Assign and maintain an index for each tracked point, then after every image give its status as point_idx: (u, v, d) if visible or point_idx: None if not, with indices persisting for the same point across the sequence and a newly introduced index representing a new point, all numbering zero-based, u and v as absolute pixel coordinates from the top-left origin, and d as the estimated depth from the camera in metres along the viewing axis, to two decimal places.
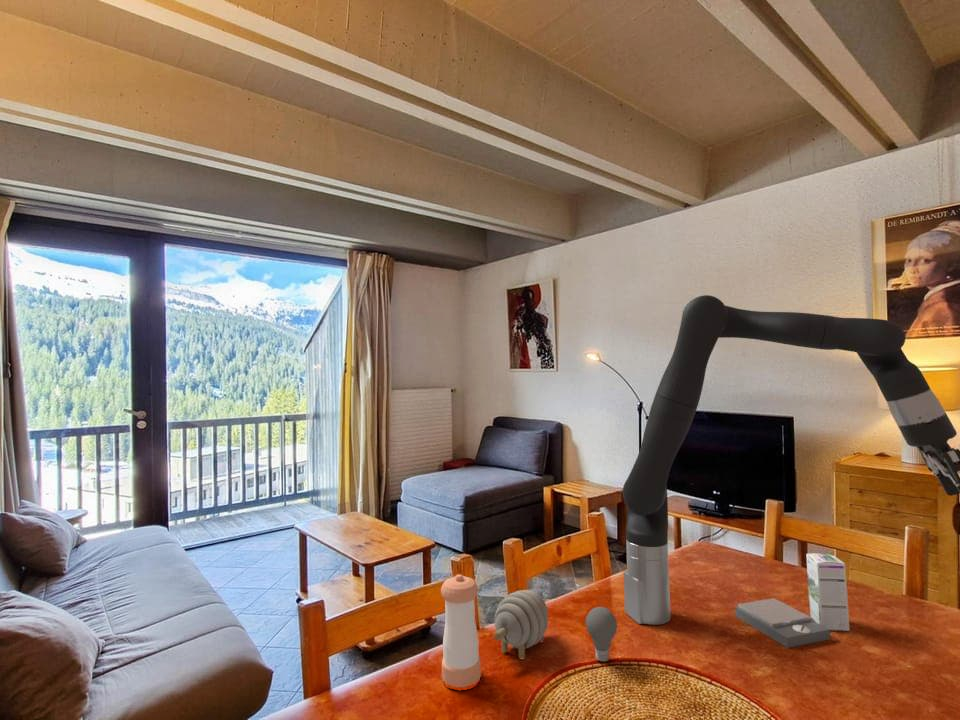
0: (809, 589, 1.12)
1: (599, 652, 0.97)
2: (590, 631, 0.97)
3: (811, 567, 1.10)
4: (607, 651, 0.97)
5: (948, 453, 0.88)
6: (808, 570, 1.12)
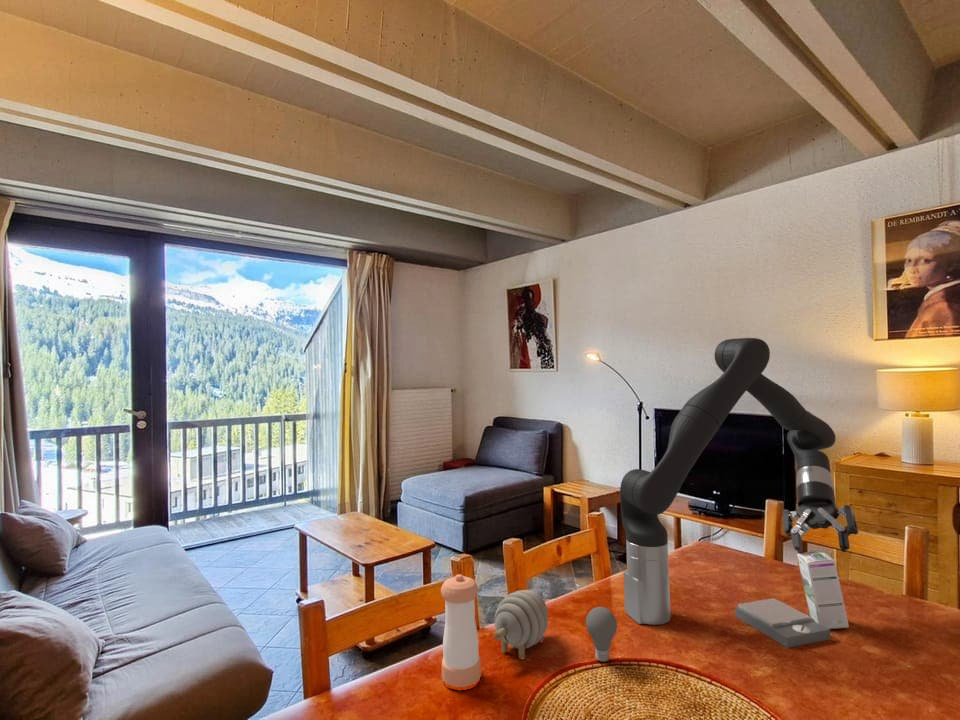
0: (805, 589, 1.12)
1: (599, 652, 0.97)
2: (590, 631, 0.97)
3: (803, 567, 1.11)
4: (607, 651, 0.97)
5: None
6: (801, 570, 1.12)
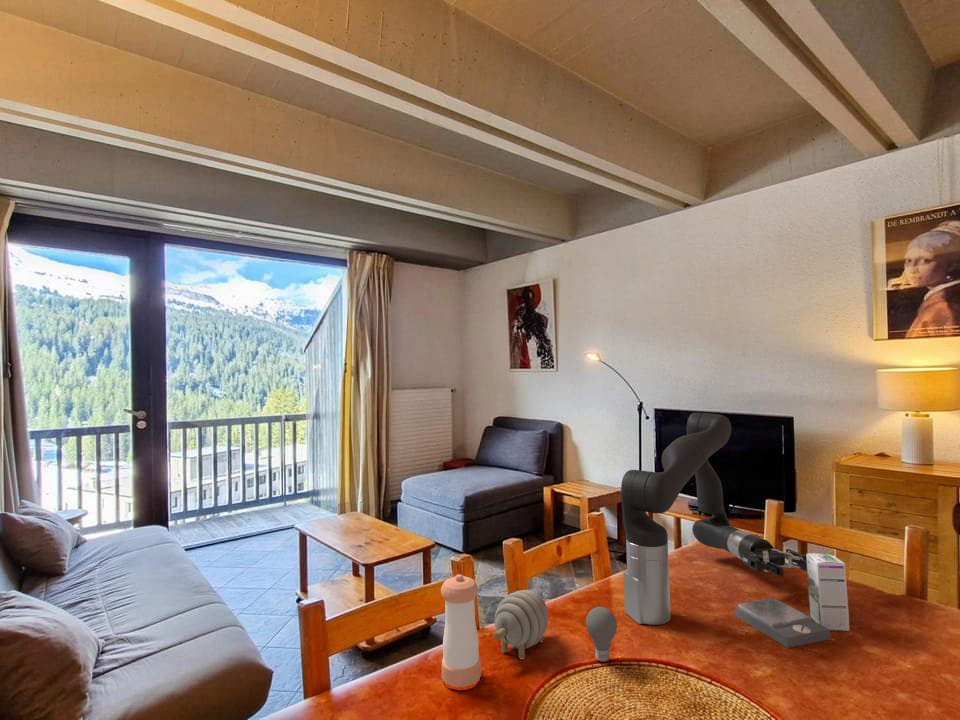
0: (809, 589, 1.12)
1: (599, 652, 0.97)
2: (590, 631, 0.97)
3: (811, 567, 1.10)
4: (607, 651, 0.97)
5: None
6: (808, 570, 1.12)
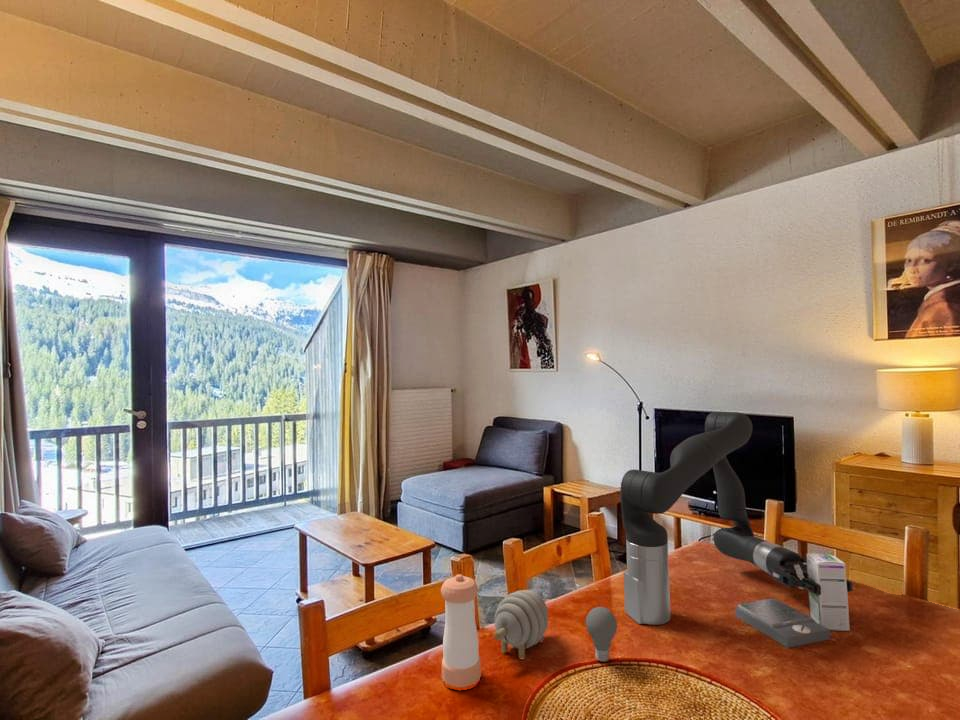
0: None
1: (599, 652, 0.97)
2: (590, 631, 0.97)
3: (811, 567, 1.10)
4: (607, 651, 0.97)
5: None
6: (808, 570, 1.12)
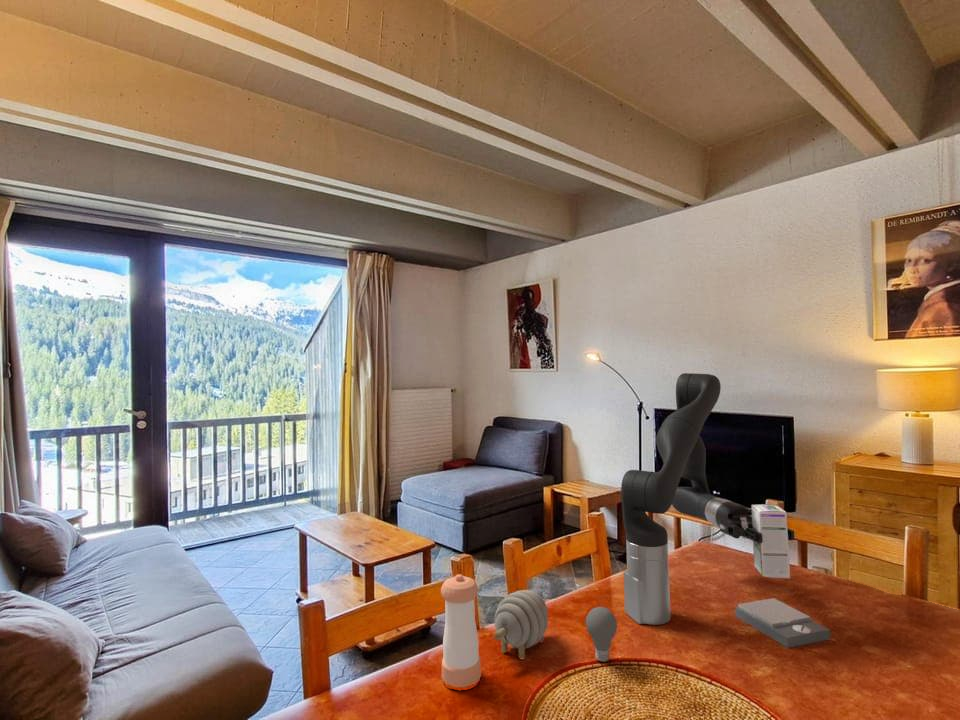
0: None
1: (599, 652, 0.97)
2: (590, 631, 0.97)
3: (755, 517, 1.12)
4: (607, 651, 0.97)
5: None
6: (752, 521, 1.13)
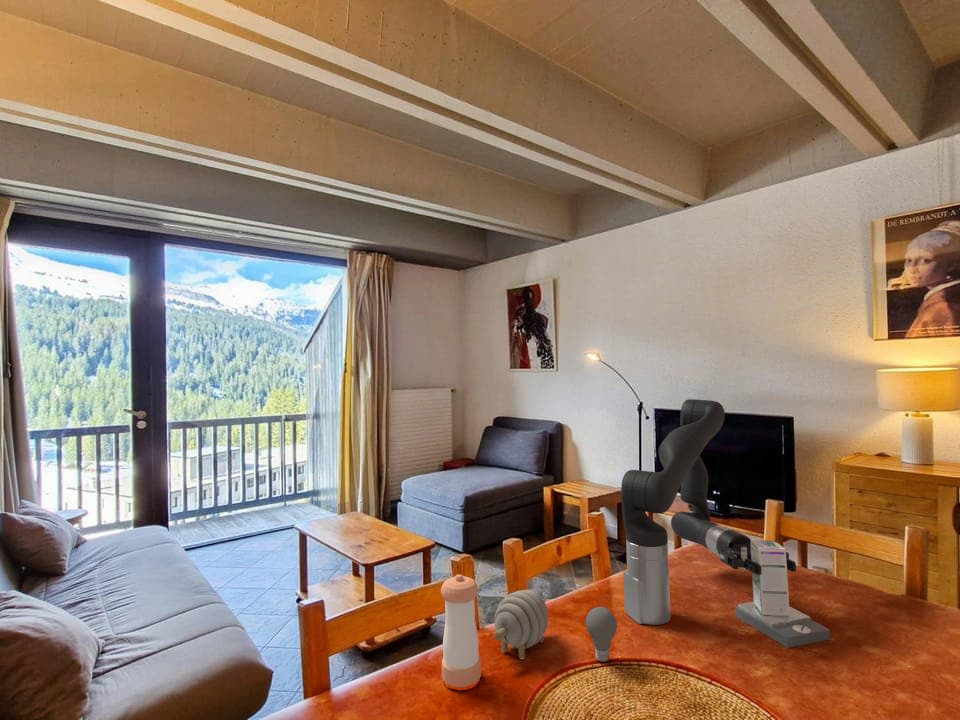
0: (752, 576, 1.13)
1: (599, 652, 0.97)
2: (590, 631, 0.97)
3: (754, 554, 1.12)
4: (607, 651, 0.97)
5: None
6: (752, 557, 1.13)
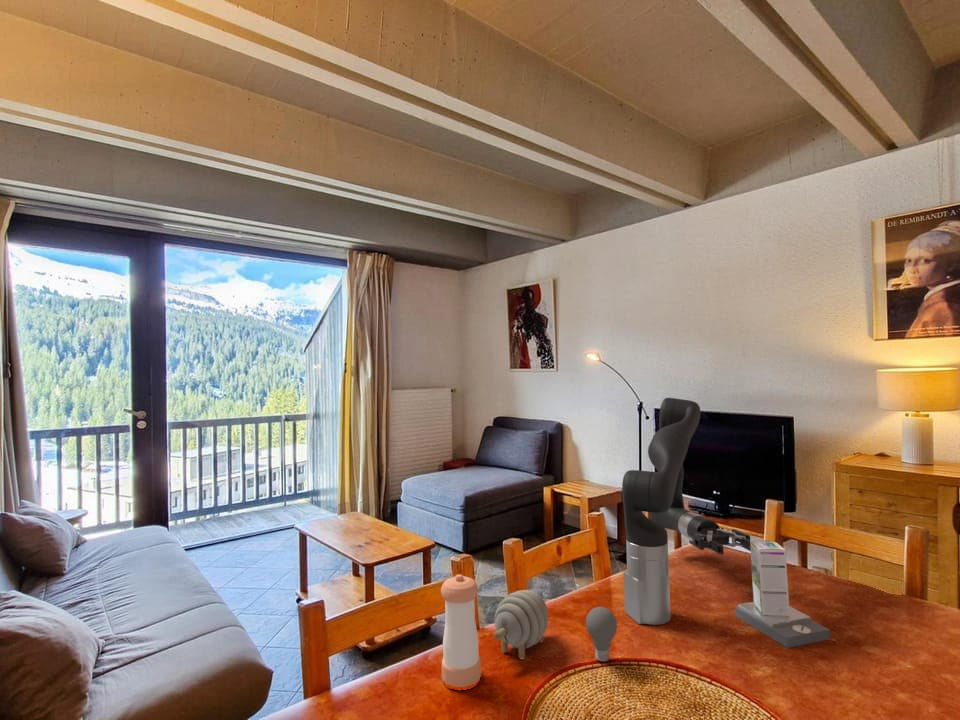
0: (752, 576, 1.13)
1: (599, 652, 0.97)
2: (590, 631, 0.97)
3: (754, 554, 1.12)
4: (607, 651, 0.97)
5: None
6: (751, 557, 1.13)
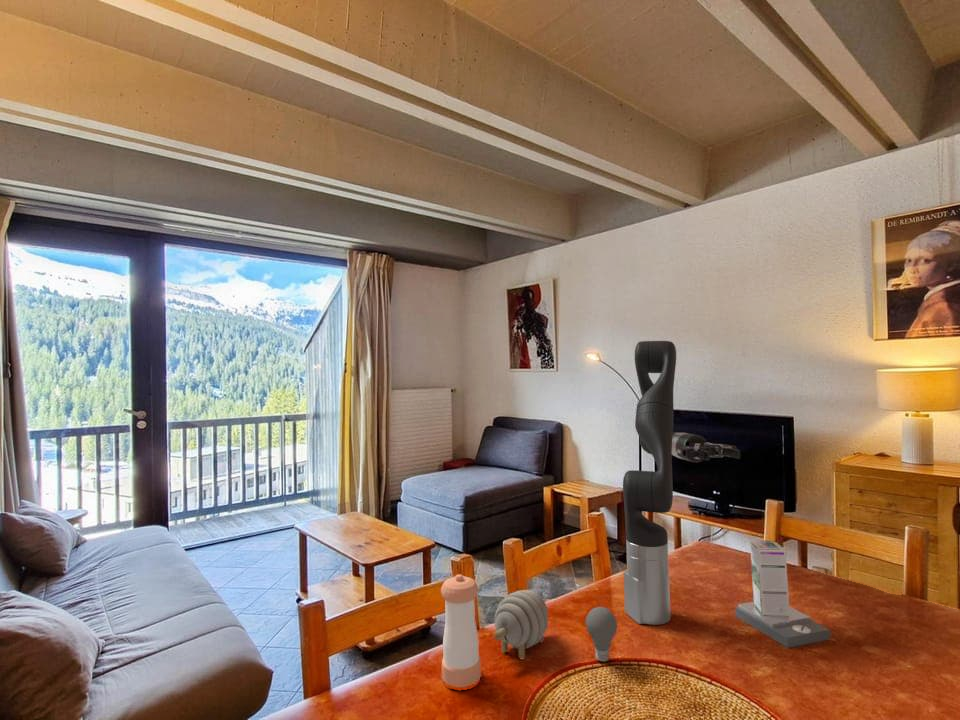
0: (752, 576, 1.13)
1: (599, 652, 0.97)
2: (590, 631, 0.97)
3: (754, 554, 1.12)
4: (607, 651, 0.97)
5: None
6: (751, 557, 1.13)
